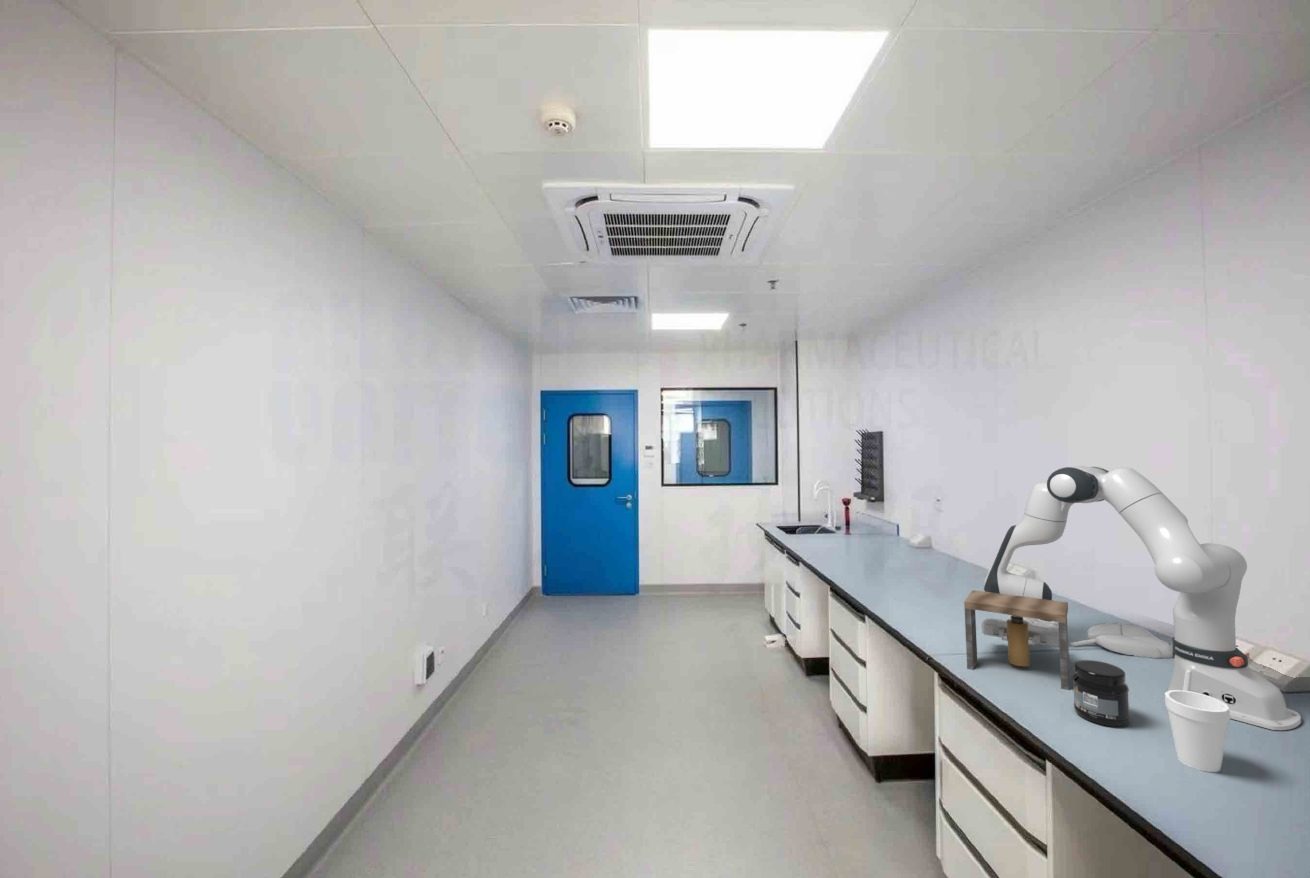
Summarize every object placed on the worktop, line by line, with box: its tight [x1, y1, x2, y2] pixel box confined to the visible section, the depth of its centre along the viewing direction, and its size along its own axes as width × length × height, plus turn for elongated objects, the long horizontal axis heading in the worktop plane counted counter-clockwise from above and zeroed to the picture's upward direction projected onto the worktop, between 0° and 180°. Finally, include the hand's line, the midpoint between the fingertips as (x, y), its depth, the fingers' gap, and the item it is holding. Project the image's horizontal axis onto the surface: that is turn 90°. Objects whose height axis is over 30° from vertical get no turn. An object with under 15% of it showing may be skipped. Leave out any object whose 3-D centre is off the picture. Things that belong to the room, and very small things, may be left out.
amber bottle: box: [1006, 615, 1031, 667], centre depth 159 cm, size 5×5×14 cm
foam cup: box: [1164, 690, 1231, 773], centre depth 111 cm, size 10×9×13 cm
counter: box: [963, 589, 1071, 691], centre depth 157 cm, size 24×14×20 cm, turn 50°
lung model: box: [1070, 622, 1173, 659], centre depth 170 cm, size 7×17×25 cm
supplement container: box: [1072, 659, 1131, 727], centre depth 130 cm, size 10×10×12 cm
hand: (1017, 640), depth 158 cm, fingers closed on amber bottle, 5 cm apart
